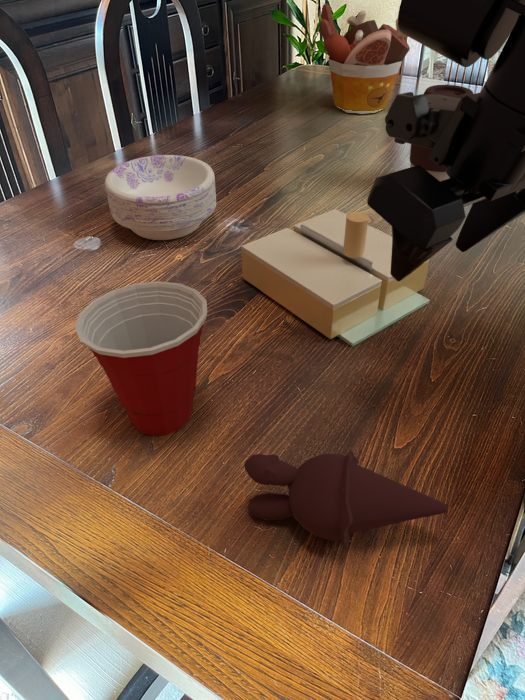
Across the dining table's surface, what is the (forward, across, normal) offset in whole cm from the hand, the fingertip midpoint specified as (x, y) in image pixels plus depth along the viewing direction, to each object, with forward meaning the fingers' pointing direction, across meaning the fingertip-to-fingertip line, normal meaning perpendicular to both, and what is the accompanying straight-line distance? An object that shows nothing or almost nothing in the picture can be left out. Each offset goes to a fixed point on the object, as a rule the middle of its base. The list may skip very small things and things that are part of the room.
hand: (429, 262), depth 51 cm
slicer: (+15, -4, -12) cm, 19 cm away
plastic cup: (+15, +24, -6) cm, 29 cm away
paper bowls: (+23, +4, -38) cm, 44 cm away
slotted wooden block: (+15, -4, -12) cm, 20 cm away
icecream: (+10, +18, +12) cm, 24 cm away
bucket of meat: (+27, -59, -60) cm, 88 cm away
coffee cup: (+17, -37, -23) cm, 47 cm away
